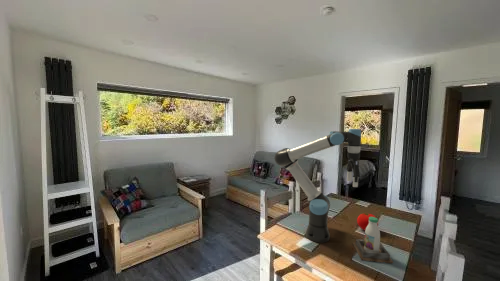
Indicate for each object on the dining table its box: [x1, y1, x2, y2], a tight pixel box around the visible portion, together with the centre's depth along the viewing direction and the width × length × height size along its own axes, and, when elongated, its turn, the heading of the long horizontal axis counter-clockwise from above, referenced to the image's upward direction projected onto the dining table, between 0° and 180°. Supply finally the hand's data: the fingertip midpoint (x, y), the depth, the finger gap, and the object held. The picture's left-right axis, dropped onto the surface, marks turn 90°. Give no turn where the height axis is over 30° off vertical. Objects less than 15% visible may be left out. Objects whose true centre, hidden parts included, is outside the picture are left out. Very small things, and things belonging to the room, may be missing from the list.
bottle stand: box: [352, 238, 394, 264], centre depth 125 cm, size 16×16×4 cm
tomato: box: [356, 212, 379, 231], centre depth 152 cm, size 12×14×11 cm
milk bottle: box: [363, 216, 381, 252], centre depth 125 cm, size 8×8×20 cm
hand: (352, 183), depth 144 cm, fingers open, 13 cm apart
